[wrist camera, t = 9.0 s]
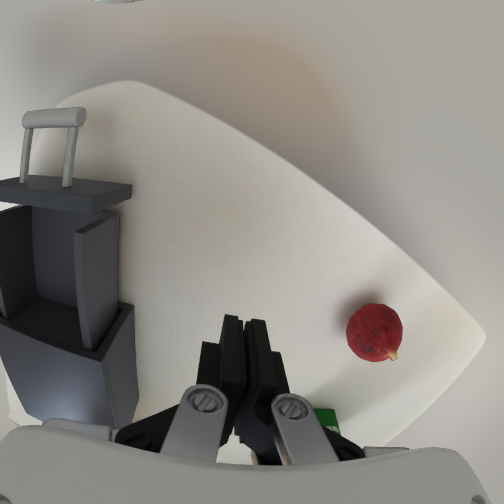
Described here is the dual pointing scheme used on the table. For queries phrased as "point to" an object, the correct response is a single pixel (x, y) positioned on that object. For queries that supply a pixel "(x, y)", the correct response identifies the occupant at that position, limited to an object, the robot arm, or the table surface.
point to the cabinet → (74, 373)
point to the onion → (374, 333)
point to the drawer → (59, 244)
